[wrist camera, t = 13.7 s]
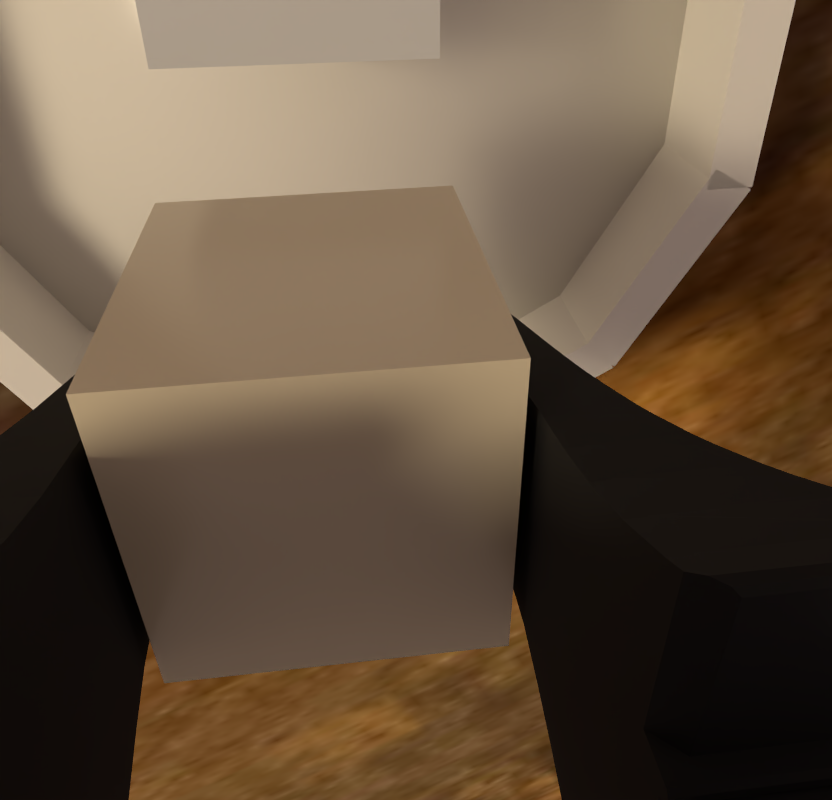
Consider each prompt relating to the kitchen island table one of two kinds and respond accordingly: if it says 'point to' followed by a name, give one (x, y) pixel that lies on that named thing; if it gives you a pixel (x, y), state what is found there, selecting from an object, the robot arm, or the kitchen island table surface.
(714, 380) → the kitchen island table surface
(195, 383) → the cream rectangular block
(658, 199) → the bowl
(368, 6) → the matte stone cube
